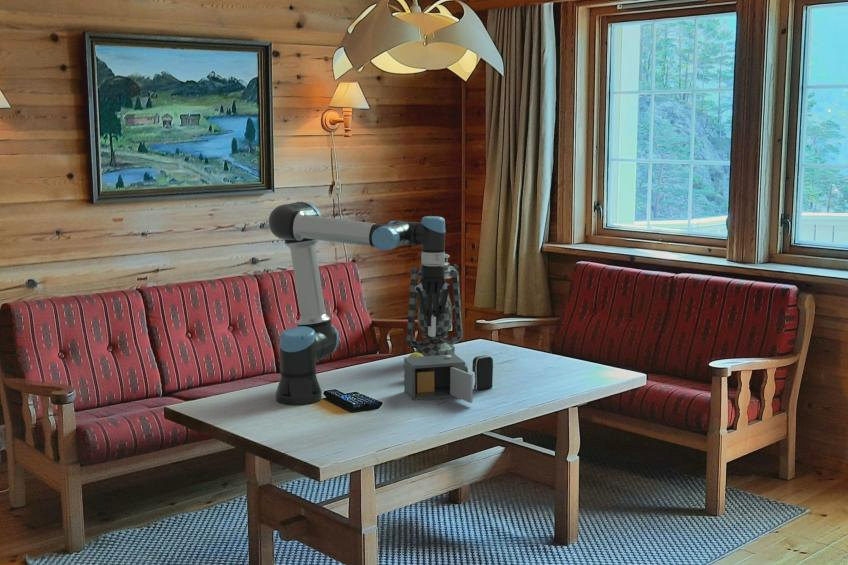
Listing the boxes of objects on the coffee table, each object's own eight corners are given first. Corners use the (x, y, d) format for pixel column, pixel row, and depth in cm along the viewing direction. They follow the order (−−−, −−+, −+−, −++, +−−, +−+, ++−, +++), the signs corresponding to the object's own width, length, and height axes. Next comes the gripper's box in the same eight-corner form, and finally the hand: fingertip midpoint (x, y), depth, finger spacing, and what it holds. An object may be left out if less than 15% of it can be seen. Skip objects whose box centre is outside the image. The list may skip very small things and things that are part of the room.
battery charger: (486, 385, 355) (486, 353, 353) (493, 388, 352) (493, 355, 350) (470, 388, 351) (470, 356, 349) (477, 391, 348) (477, 358, 346)
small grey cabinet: (413, 401, 336) (412, 363, 334) (404, 391, 348) (404, 355, 346) (470, 396, 341) (470, 359, 339) (460, 387, 353) (460, 351, 351)
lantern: (416, 370, 377) (416, 249, 370) (396, 359, 393) (395, 244, 386) (473, 363, 388) (474, 246, 380) (452, 353, 404) (452, 240, 396)
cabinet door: (474, 402, 330) (474, 374, 328) (470, 403, 329) (470, 374, 328) (453, 394, 340) (453, 366, 338) (450, 394, 339) (450, 367, 337)
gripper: (419, 267, 322) (418, 339, 326) (456, 265, 328) (454, 336, 332) (409, 263, 329) (408, 335, 333) (446, 261, 335) (444, 331, 339)
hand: (431, 335), depth 333 cm, fingers closed
